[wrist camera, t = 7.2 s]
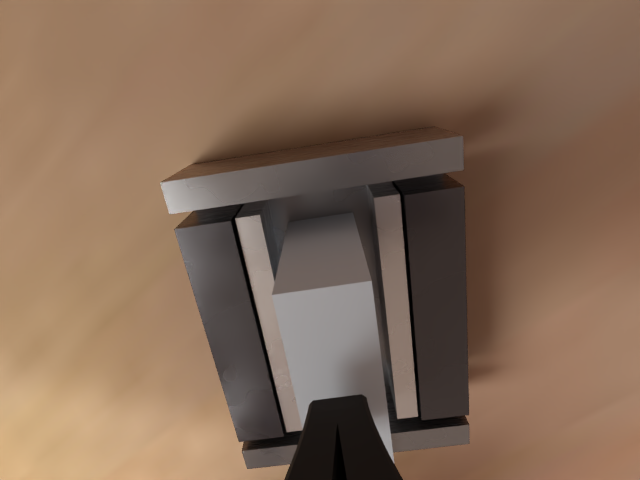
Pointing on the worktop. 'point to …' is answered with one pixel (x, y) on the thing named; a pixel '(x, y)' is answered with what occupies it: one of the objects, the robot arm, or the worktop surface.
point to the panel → (330, 317)
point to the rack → (382, 260)
